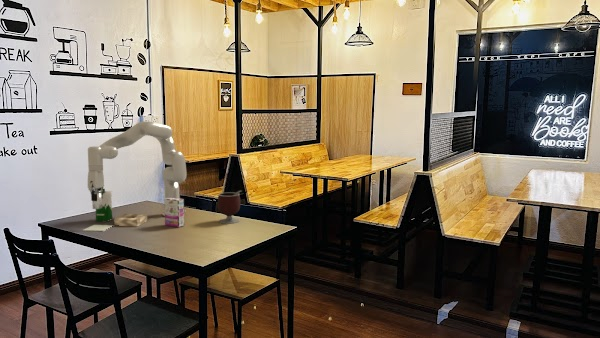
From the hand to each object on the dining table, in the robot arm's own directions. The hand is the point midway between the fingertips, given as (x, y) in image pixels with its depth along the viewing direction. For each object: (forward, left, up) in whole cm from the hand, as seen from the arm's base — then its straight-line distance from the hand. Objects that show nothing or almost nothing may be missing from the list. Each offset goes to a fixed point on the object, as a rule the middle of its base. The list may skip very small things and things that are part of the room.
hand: (97, 199), depth 257 cm
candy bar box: (-41, -11, -17) cm, 46 cm away
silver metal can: (0, 0, -5) cm, 5 cm away
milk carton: (+7, -20, -17) cm, 27 cm away
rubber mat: (0, 0, -17) cm, 17 cm away
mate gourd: (-71, -25, -17) cm, 78 cm away
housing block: (-13, -14, -17) cm, 26 cm away
